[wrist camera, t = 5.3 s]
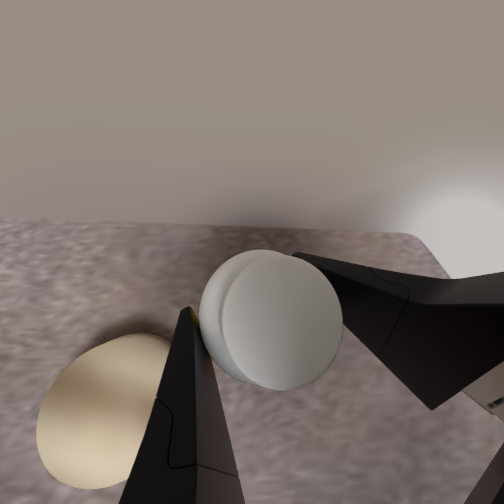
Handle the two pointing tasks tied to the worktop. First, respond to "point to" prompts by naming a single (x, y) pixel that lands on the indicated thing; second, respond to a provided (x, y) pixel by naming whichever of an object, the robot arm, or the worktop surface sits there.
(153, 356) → the birch plinth
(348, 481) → the worktop surface
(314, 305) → the supplement bottle
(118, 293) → the worktop surface
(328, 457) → the worktop surface
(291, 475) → the worktop surface
